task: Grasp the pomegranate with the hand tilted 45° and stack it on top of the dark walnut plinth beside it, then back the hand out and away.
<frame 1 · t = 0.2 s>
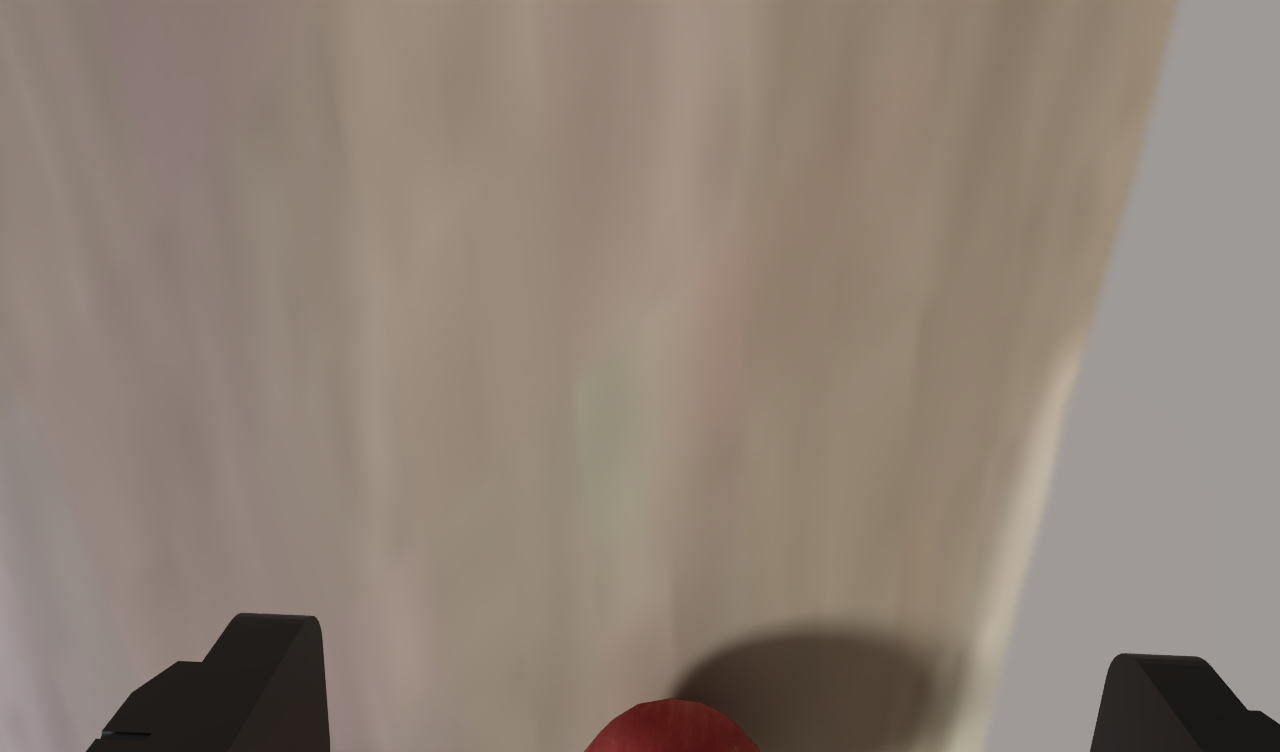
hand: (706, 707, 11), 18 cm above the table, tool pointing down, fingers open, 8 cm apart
pomegranate: (674, 714, 33), on the table
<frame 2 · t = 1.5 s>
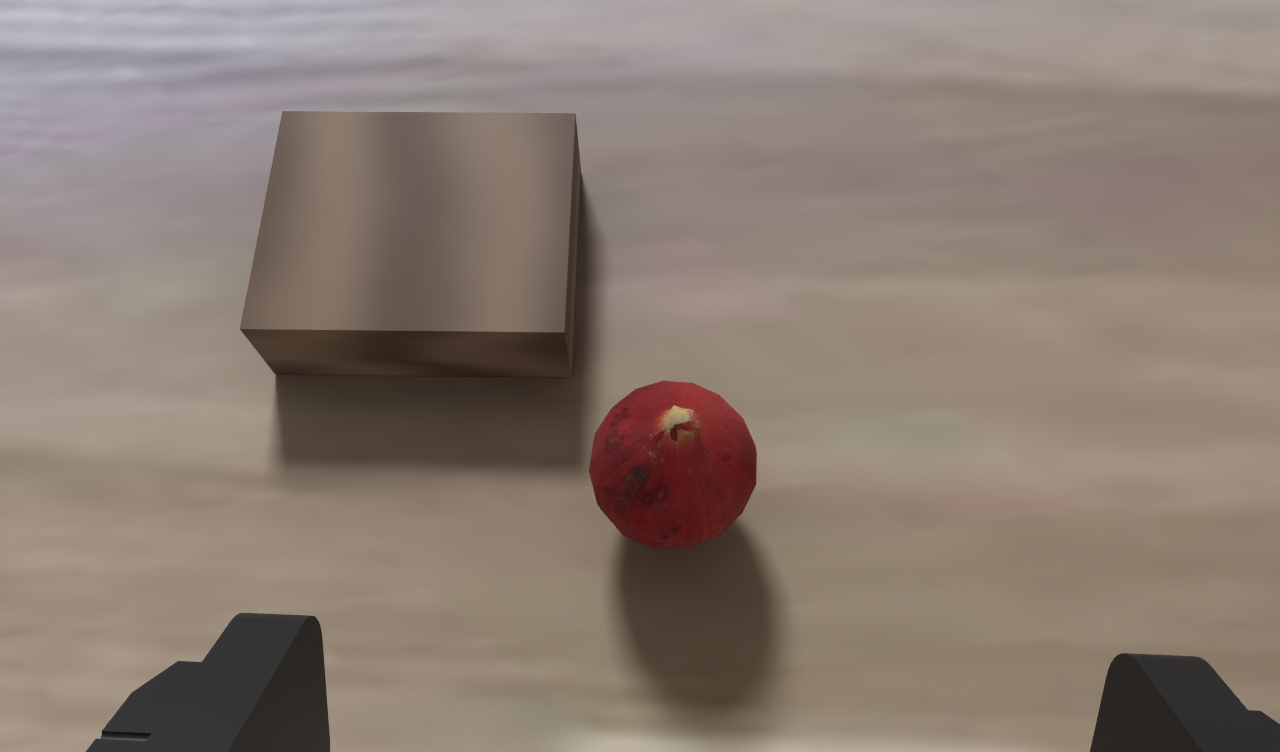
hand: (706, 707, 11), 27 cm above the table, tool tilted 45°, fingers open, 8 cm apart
plinth: (435, 268, 44), on the table
pomegranate: (670, 499, 40), on the table
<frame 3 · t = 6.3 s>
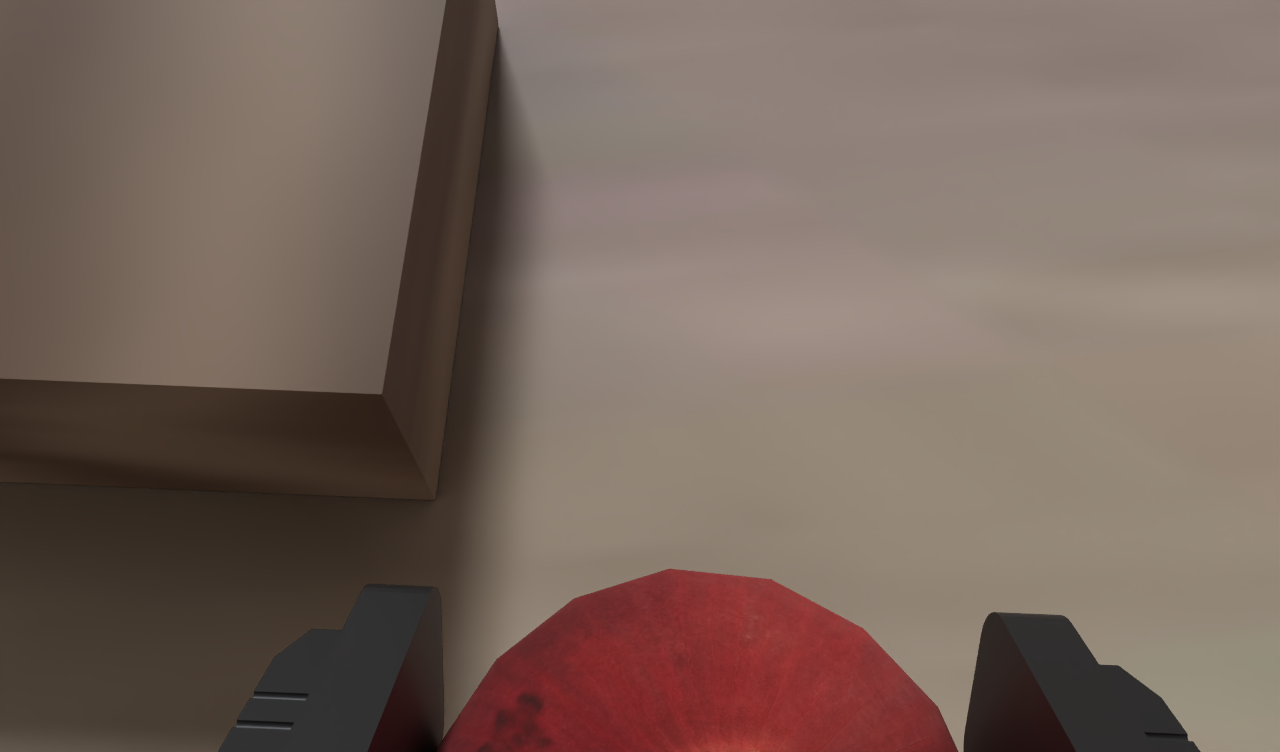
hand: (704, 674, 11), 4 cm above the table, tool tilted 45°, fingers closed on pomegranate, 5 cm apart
plinth: (136, 220, 19), on the table
when the fingers open (9 cm above the table, at t = 11.7 s): pomegranate stays where it is, resting on plinth.
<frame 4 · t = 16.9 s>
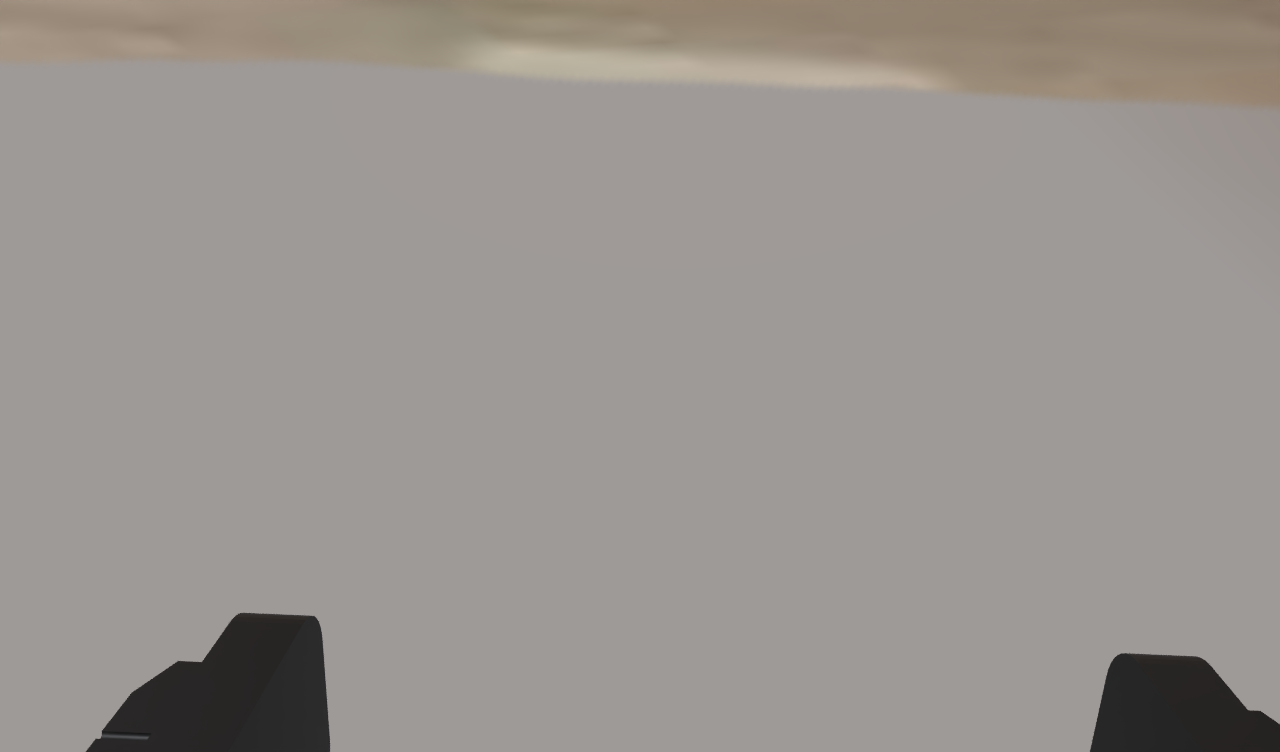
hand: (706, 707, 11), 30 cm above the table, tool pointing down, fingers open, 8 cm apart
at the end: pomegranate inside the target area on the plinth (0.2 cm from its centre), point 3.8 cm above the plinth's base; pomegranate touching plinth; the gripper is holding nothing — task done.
